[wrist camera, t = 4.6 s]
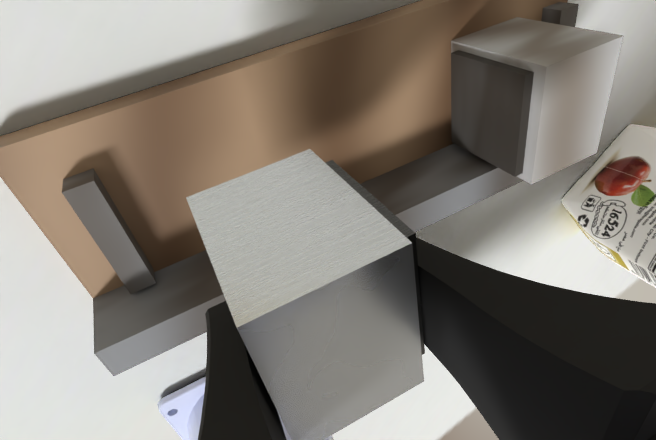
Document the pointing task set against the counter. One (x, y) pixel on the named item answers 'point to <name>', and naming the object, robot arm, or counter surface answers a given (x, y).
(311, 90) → the rail
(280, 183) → the matte gray brick
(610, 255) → the juice carton
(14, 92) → the counter surface
